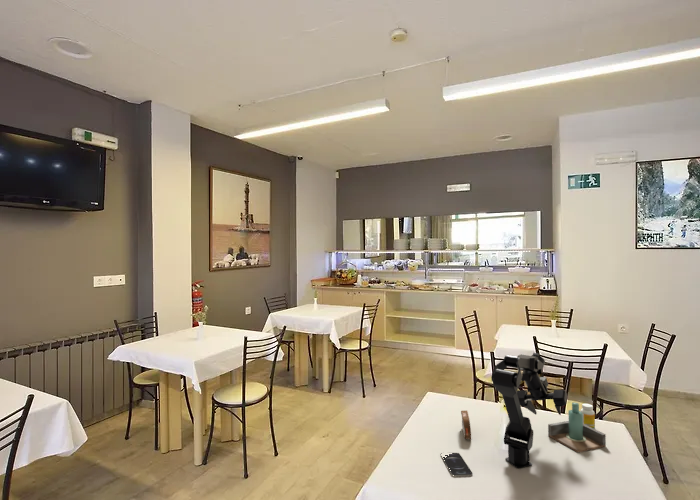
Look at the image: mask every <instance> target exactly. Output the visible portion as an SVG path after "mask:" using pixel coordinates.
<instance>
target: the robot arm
mask: <svg viewBox="0 0 700 500" xmlns="http://www.w3.org/2000/svg"><path fill="white" fill-rule="evenodd" d="M545 364H546V360H545V359H544V358H543V357H542V356H541V355H539V353H538V352H533V353H532V355H527V354H519V355H510V354H507V355H504V357H503V359H502V360H501V361H500V362H499V363H497V364H496V365H495V366H494V369H493V371H492V372H491V382H492V384H493V387H494V389H495V390H496V391H497V392H499V393H500V395H502V399H503V402H504V406H505V409H506V412H507V416H508V423H507V425H506V426H505V432H504V435H503V443H504V444H503V445H507V450H508V452H507V453H508V455H507V457H505V458H504V459H505V461H506V462H508V463H509V464H510V465H512V466H514V468H516V469H521V468H526V467H531V466H533V464H532V463H531V462H530V450H531V449H532V448H533V443H534V430H533V428H532V423H531V419H530V418H529V417H527V416H524V415H523V410H522V407H524V408H525V409H526V410H528V411H529V412H531V413H533V414H534V415H537V414H538V413H537V410H536V407H535V406H534V404H533V402H532V401H545V400H553V403H554V407H555V409H556V412H557V414H558V415H559V416H561V414H562V407H564V406H566V405H567V403H568V393H567V391H566V390H565V389H554V390H553V392H548V391H549V388H548V386H549V382H548V380H547V379H548V378H547V376H539V375H542V372H543V369H544V368H545V367H544V366H545ZM507 368H513V369H517V372H515V371H510V370H506V369H507ZM521 382H524V383H525V385H526V388H527V390H524V389H522V390H520V389H519V388H520V387H519V386H520V384H521ZM518 389H519V390H518ZM528 393H530V394H528Z"/></svg>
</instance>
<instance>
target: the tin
mask: <svg viewBox="0 0 700 500" xmlns="http://www.w3.org/2000/svg"><path fill="white" fill-rule="evenodd" d="M460 414H461V427H462V433H463V438H464V440H472V429H471V423H470V422H471V421H470V420H471V419H470V416H469V411H468V410H461V411H460Z"/></svg>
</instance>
